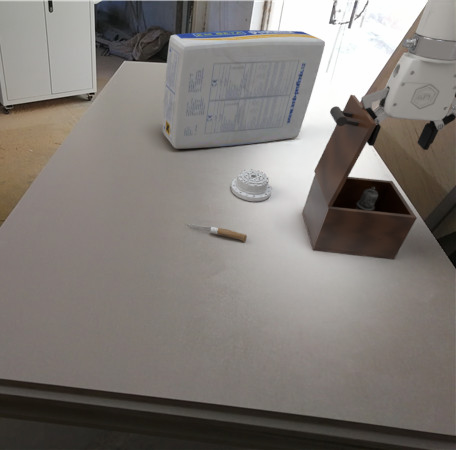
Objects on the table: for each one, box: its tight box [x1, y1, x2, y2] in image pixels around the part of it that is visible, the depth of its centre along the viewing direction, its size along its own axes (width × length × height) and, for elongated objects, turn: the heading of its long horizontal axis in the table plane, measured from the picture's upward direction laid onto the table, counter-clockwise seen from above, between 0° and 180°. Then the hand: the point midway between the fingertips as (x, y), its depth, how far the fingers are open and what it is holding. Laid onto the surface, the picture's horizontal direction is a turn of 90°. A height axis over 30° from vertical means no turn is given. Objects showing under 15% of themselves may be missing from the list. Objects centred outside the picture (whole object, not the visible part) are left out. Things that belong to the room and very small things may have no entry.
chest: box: [301, 174, 418, 260], centre depth 86 cm, size 17×14×11 cm
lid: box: [313, 94, 376, 207], centre depth 78 cm, size 17×14×5 cm
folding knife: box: [184, 223, 248, 243], centre depth 87 cm, size 14×2×2 cm, turn 73°
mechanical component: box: [230, 168, 273, 202], centre depth 101 cm, size 10×4×10 cm
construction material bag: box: [162, 29, 326, 150], centre depth 117 cm, size 43×12×30 cm, turn 108°
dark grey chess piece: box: [356, 187, 378, 211], centre depth 85 cm, size 6×6×12 cm
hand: (395, 144), depth 76 cm, fingers open, 9 cm apart
